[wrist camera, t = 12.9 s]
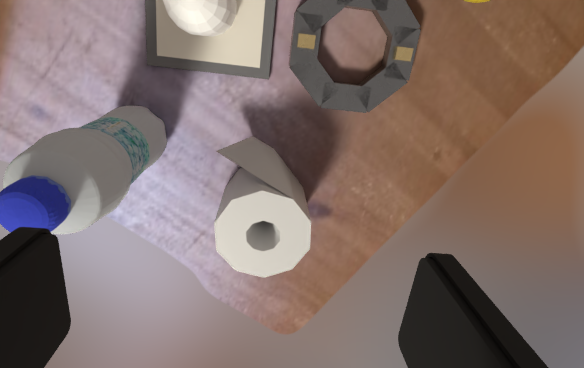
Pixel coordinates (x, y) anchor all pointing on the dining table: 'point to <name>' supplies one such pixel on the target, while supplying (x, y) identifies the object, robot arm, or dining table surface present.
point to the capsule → (202, 15)
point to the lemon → (476, 1)
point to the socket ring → (380, 84)
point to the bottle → (80, 171)
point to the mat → (214, 41)
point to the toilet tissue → (261, 212)
